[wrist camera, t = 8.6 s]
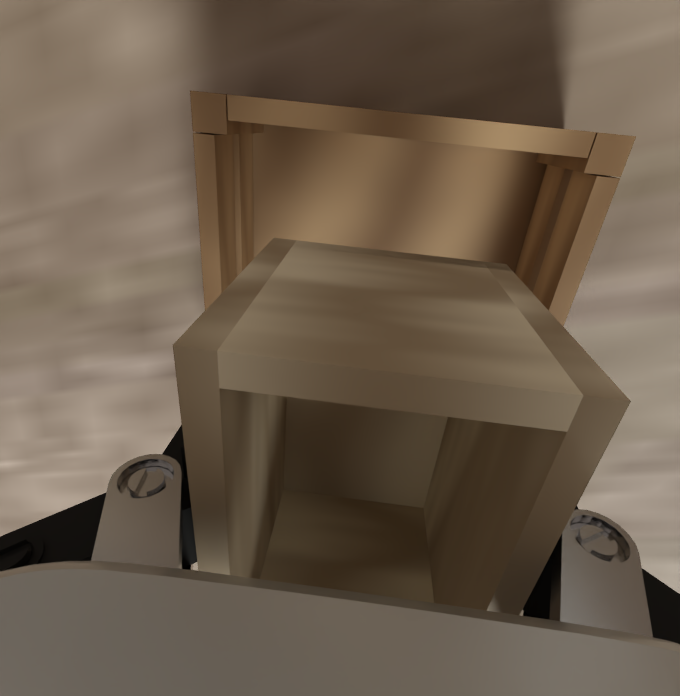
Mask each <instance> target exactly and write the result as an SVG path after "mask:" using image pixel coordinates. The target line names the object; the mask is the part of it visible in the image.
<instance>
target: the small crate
mask: <svg viewBox="0 0 680 696" xmlns="http://www.w3.org/2000/svg"><path fill="white" fill-rule="evenodd" d="M173 352H174V360H175V369H176V378H177V387H178V395H179V404H180V413H181V422H182V430H183V439H184V448H185V457H186V466H187V474H188V483H189V492H190V501H191V509H192V518H193V527H194V536H195V545H196V553H197V562H198V571H203V572H211V573H218V574H226V575H233V576H241V577H248V578H256V579H263V580H271V581H278V582H286V583H293V584H301V585H308V586H315V587H323V588H330V589H337V590H344V591H351V592H359V593H366V594H373V595H380V596H387V597H395V598H402V599H409V600H416V601H423V602H430V603H437V604H445V605H451V606H458V607H465V608H472V609H479V610H486V611H493V612H500V613H507V614H514V615H520V613H521V611H522V609H523V607H524V605H525V603H526V602H527V600H528V598H529V596H530V594H531V592H532V590H533V588H534V586H535V584H536V582H537V580H538V578H539V577H540V575H541V573H542V571H543V569H544V567H545V565H546V563H547V561H548V559H549V557H550V555H551V554H552V552H553V550H554V548H555V546H556V544H557V542H558V540H559V538H560V536H561V534H562V532H563V530H564V529H565V527H566V525H567V523H568V521H569V519H570V517H571V515H572V513H573V511H574V509H575V507H576V505H577V504H578V502H579V500H580V498H581V496H582V494H583V492H584V490H585V488H586V486H587V484H588V482H589V481H590V479H591V477H592V475H593V473H594V471H595V469H596V467H597V465H598V463H599V461H600V459H601V457H602V456H603V454H604V452H605V450H606V448H607V446H608V444H609V442H610V440H611V438H612V436H613V434H614V432H615V431H616V429H617V427H618V425H619V423H620V421H621V419H622V417H623V415H624V413H625V411H626V409H627V408H628V406H629V404H630V402H631V401H630V400H629V399H628V398H627V397H626V396H625V394H624V393H623V392H622V391H621V390H620V389H619V388H618V387H617V386H616V385H615V383H614V382H613V381H612V380H611V379H610V378H609V377H608V376H607V375H606V373H605V372H604V371H603V370H602V369H601V368H600V367H599V366H598V365H597V364H596V362H595V361H594V360H593V359H592V358H591V357H590V356H589V355H588V354H587V353H586V351H585V350H584V349H583V348H582V347H581V346H580V345H579V344H578V343H577V341H576V340H575V339H574V338H573V337H572V336H571V335H570V334H569V333H568V332H567V330H566V329H565V328H564V327H563V326H562V325H561V324H560V323H559V322H558V321H557V319H556V318H555V317H554V316H553V315H552V314H551V313H550V312H549V311H548V309H547V308H546V307H545V306H544V305H543V304H542V303H541V302H540V301H539V300H538V298H537V297H536V296H535V295H534V294H533V293H532V292H531V291H530V290H529V289H528V287H527V286H526V285H525V284H524V283H523V282H522V281H521V280H520V279H519V277H518V276H517V275H516V274H515V273H514V272H513V271H512V270H511V269H510V268H509V266H508V265H507V264H501V263H492V262H484V261H475V260H466V259H457V258H448V257H440V256H431V255H422V254H413V253H404V252H395V251H387V250H378V249H369V248H360V247H351V246H343V245H334V244H325V243H316V242H307V241H299V240H290V239H281V238H273V239H272V240H271V241H270V242H269V243H268V244H267V245H266V247H265V248H264V249H263V250H262V251H261V252H260V253H259V254H258V255H257V256H256V257H255V258H254V259H253V260H252V261H251V262H250V264H249V265H248V266H247V267H246V268H245V269H244V270H243V271H242V272H241V273H240V274H239V275H238V276H237V277H236V278H235V280H234V281H233V282H232V283H231V284H230V285H229V286H228V287H227V288H226V289H225V290H224V291H223V292H222V293H221V294H220V296H219V297H218V298H217V299H216V300H215V301H214V302H213V303H212V304H211V305H210V306H209V307H208V308H207V309H206V310H205V311H204V313H203V314H202V315H201V316H200V317H199V318H198V319H197V320H196V321H195V322H194V323H193V324H192V325H191V326H190V327H189V329H188V330H187V331H186V332H185V333H184V334H183V335H182V336H181V337H180V338H179V339H178V340H177V341H176V342H175V343H174V344H173Z"/></svg>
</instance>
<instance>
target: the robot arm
mask: <svg viewBox="0 0 680 696" xmlns="http://www.w3.org/2000/svg"><path fill="white" fill-rule="evenodd" d="M195 562H197V553H196V545H195V536H194V527H193V518H192V509H191V501H190V492H189V483H188V474H187V466H186V457H185V448H184V439H183V430H182V425H181V427H180V428H179V430H178V431H177V433H176V434H175V436H174V437H173V439H172V440H171V442H170V443H169V445H168V446H167V448H166V449H165V451H164V452H163V454H162V455H161V454H148V455H144V456H139V457H137V458H134V459H132V460H130V461H128V462H126V463H125V464H123V465H122V466H120V467H119V468H118V469H117V470H116V471H115V472H114V473H113V475H112V477H111V479H110V481H109V484H108V488H107V492H106V493H104V494H102V495H99V496H97V497H94V498H92V499H90V500H87V501H85V502H82V503H80V504H78V505H75V506H73V507H70V508H68V509H66V510H63V511H61V512H58V513H56V514H54V515H51V516H49V517H46V518H44V519H41V520H39V521H37V522H34V523H32V524H29V525H27V526H25V527H22V528H20V529H17V530H15V531H13V532H10V533H8V534H5V535H3V536H1V537H0V696H680V594H679V593H677V592H676V591H674V590H673V589H671V588H670V587H668V586H667V585H665V584H664V583H663V582H661V581H660V580H658V579H657V578H655V577H654V576H652V575H651V574H649V573H648V572H646V571H645V570H644V569H642V568H641V562H640V556H639V552H638V549H637V546H636V544H635V543H634V541H633V540H632V538H631V537H630V535H629V534H628V533H627V532H626V531H625V530H624V529H623V528H621V527H620V526H619V525H618V524H616V523H615V522H613V521H612V520H611V519H609V518H607V517H605V516H603V515H601V514H599V513H596V512H592V511H589V510H579V509H578V507H577V505H576V507H575V509H574V511H573V513H572V515H571V517H570V519H569V521H568V523H567V525H566V527H565V529H564V530H563V532H562V534H561V536H560V538H559V540H558V542H557V544H556V546H555V548H554V550H553V552H552V554H551V555H550V557H549V559H548V561H547V563H546V565H545V567H544V569H543V571H542V573H541V575H540V577H539V578H538V580H537V582H536V584H535V586H534V588H533V590H532V592H531V594H530V596H529V598H528V600H527V602H526V603H525V605H524V607H523V609H522V611H521V613H520V615H514V614H507V613H500V612H493V611H486V610H479V609H472V608H465V607H458V606H451V605H445V604H437V603H430V602H423V601H416V600H409V599H402V598H395V597H387V596H380V595H373V594H366V593H359V592H351V591H344V590H337V589H330V588H323V587H315V586H308V585H301V584H293V583H286V582H278V581H271V580H263V579H256V578H248V577H241V576H233V575H226V574H218V573H211V572H203V571H195V570H193V563H195Z"/></svg>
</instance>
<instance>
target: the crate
mask: <svg viewBox="0 0 680 696" xmlns="http://www.w3.org/2000/svg"><path fill="white" fill-rule="evenodd" d="M190 97H191V112H192V126H193V131H195V132H204V133H193V141H194V156H195V170H196V185H197V200H198V215H199V229H200V244H201V259H202V273H203V288H204V303H205V310H206V309H207V308H208V307H209V306H210V305H211V304H212V303H213V302H214V301H215V300H216V299H217V298H218V297H219V296H220V294H221V293H222V292H223V291H224V290H225V289H226V288H227V287H228V286H229V285H230V284H231V283H232V282H233V281H234V280H235V278H236V277H237V276H238V275H239V274H240V273H241V272H242V271H243V270H244V269H245V268H246V267H247V266H248V265H249V264H250V262H251V261H252V260H253V259H254V258H255V257H256V256H257V255H258V254H259V253H260V252H261V251H262V250H263V249H264V248H265V247H266V245H267V244H268V243H269V242H270V241H271V240H272V239H273V238H281V239H290V240H299V241H307V242H316V243H325V244H334V245H343V246H351V247H360V248H369V249H378V250H387V251H395V252H404V253H413V254H422V255H431V256H440V257H448V258H457V259H466V260H475V261H484V262H492V263H501V264H507V265H508V266H509V268H510V269H511V270H512V271H513V272H514V273H515V274H516V275H517V276H518V277H519V279H520V280H521V281H522V282H523V283H524V284H525V285H526V286H527V287H528V289H529V290H530V291H531V292H532V293H533V294H534V295H535V296H536V297H537V298H538V300H539V301H540V302H541V303H542V304H543V305H544V306H545V307H546V308H547V309H548V311H549V312H550V313H551V314H552V315H553V316H554V317H555V318H556V319H557V321H558V322H559V323H560V324H561V325H562V326H564V323H565V321H566V318H567V315H568V313H569V310H570V307H571V305H572V302H573V300H574V297H575V294H576V292H577V289H578V287H579V284H580V281H581V279H582V276H583V274H584V271H585V268H586V266H587V263H588V261H589V258H590V255H591V253H592V250H593V248H594V245H595V242H596V240H597V237H598V235H599V232H600V229H601V227H602V224H603V222H604V219H605V216H606V214H607V211H608V209H609V206H610V203H611V201H612V198H613V195H614V193H615V190H616V188H617V185H618V182H619V180H620V178H615V177H611V176H616V177H621V175H622V172H623V169H624V167H625V164H626V162H627V159H628V156H629V154H630V151H631V149H632V146H633V143H634V141H635V138H636V136H626V135H616V134H607V133H596V132H587V131H577V130H568V129H558V128H548V127H539V126H529V125H519V124H509V123H500V122H490V121H480V120H470V119H461V118H451V117H441V116H432V115H422V114H412V113H402V112H393V111H383V110H373V109H364V108H354V107H344V106H334V105H325V104H315V103H305V102H295V101H286V100H276V99H266V98H257V97H247V96H237V95H227V94H218V93H208V92H198V91H190ZM606 175H607V176H606Z"/></svg>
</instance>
